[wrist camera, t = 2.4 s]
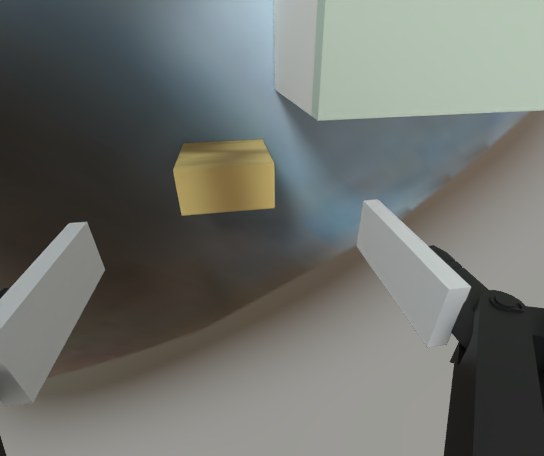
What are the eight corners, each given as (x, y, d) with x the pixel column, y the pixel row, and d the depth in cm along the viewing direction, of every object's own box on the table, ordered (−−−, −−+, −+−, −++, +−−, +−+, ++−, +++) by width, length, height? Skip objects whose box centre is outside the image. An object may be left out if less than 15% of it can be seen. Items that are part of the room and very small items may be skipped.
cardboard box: (189, 180, 24) (181, 215, 19) (183, 143, 22) (173, 170, 17) (263, 175, 25) (274, 208, 20) (262, 139, 23) (274, 164, 18)
